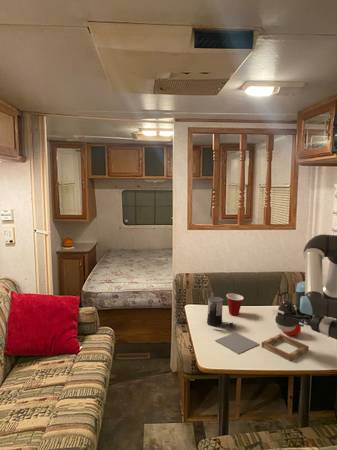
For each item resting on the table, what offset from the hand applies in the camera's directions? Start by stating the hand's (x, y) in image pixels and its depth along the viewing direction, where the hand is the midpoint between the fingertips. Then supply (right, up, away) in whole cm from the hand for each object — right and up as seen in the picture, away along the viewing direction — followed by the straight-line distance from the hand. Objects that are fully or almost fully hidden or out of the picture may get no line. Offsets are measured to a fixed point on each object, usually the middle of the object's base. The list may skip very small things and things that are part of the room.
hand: (279, 308), depth 159 cm
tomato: (+11, -18, +15) cm, 26 cm away
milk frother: (-25, -16, +25) cm, 39 cm away
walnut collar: (+2, -20, -1) cm, 20 cm away
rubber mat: (-20, -19, +4) cm, 28 cm away
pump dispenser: (+2, -10, -3) cm, 10 cm away
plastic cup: (-14, -15, +41) cm, 46 cm away
